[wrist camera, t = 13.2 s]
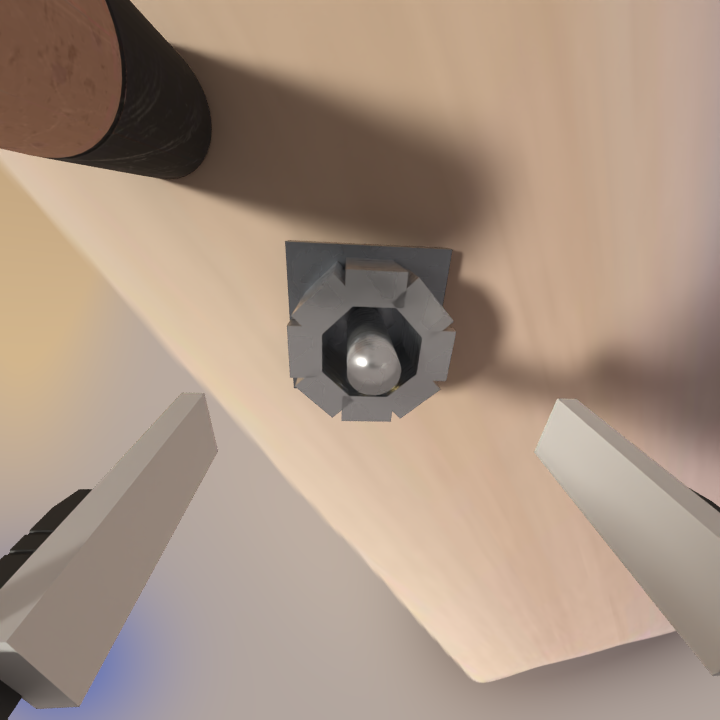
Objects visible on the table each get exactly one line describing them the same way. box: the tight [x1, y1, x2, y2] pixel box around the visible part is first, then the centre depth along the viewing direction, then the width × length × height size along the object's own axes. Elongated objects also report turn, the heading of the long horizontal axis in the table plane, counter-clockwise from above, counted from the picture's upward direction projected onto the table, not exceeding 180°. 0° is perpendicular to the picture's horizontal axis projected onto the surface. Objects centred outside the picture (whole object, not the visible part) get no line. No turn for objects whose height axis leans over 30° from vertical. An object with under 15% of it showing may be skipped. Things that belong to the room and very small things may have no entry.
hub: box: [287, 257, 456, 422], centre depth 20 cm, size 10×10×6 cm
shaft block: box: [285, 240, 452, 395], centre depth 20 cm, size 12×12×10 cm
